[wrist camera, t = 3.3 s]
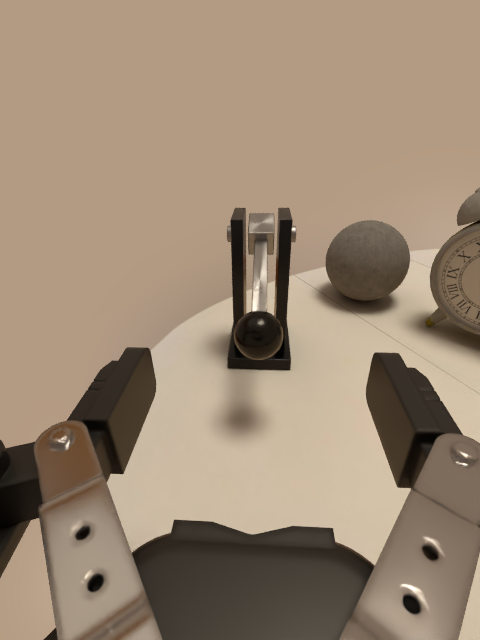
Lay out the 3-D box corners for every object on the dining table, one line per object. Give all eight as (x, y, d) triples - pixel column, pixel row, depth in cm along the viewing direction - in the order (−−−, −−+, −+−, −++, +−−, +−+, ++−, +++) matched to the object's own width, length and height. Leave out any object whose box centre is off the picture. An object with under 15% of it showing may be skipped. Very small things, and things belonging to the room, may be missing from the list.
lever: (282, 369, 24) (285, 342, 21) (233, 368, 24) (230, 341, 22) (279, 239, 33) (281, 208, 30) (243, 239, 33) (242, 208, 30)
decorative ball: (383, 281, 50) (398, 211, 45) (413, 314, 42) (435, 232, 37) (315, 282, 50) (322, 212, 45) (331, 315, 42) (342, 234, 37)
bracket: (290, 370, 33) (300, 225, 26) (227, 368, 33) (221, 225, 26) (286, 326, 40) (293, 203, 33) (234, 325, 40) (231, 203, 33)
